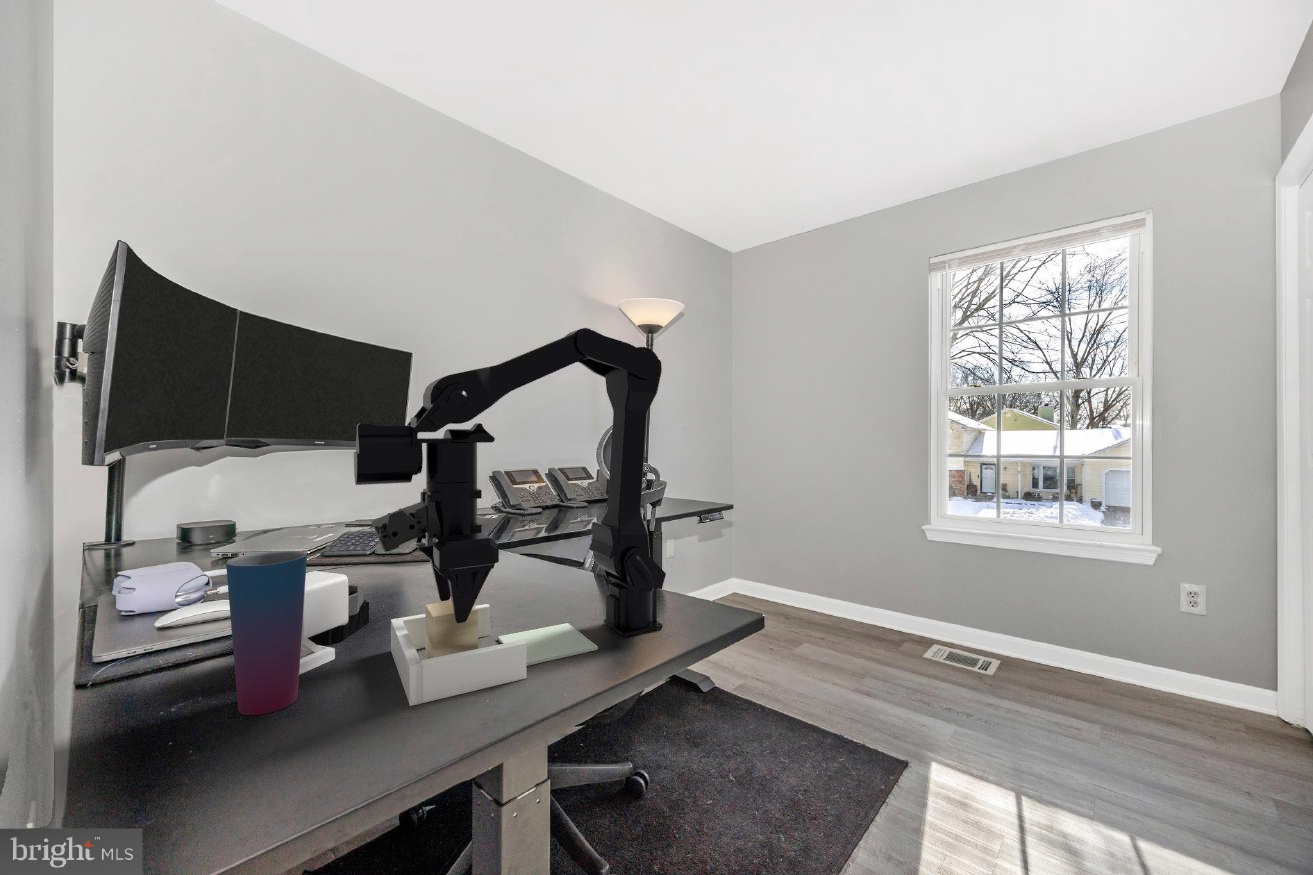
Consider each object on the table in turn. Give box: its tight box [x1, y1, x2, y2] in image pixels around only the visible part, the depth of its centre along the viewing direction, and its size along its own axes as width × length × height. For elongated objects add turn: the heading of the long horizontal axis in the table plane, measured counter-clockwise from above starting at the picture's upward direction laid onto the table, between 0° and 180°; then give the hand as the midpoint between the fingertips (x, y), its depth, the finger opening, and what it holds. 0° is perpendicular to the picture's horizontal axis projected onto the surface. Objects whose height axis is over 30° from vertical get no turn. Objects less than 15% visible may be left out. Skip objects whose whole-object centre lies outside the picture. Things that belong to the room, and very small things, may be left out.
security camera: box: [299, 570, 349, 676], centre depth 67 cm, size 6×7×10 cm
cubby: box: [390, 603, 527, 707], centre depth 67 cm, size 12×16×4 cm
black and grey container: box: [308, 583, 370, 646], centre depth 77 cm, size 10×6×10 cm
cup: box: [225, 550, 308, 716], centre depth 57 cm, size 7×7×15 cm
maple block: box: [424, 600, 479, 659], centre depth 66 cm, size 5×5×7 cm
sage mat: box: [497, 622, 599, 667], centre depth 73 cm, size 10×10×1 cm
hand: (452, 610), depth 66 cm, fingers open, 9 cm apart
